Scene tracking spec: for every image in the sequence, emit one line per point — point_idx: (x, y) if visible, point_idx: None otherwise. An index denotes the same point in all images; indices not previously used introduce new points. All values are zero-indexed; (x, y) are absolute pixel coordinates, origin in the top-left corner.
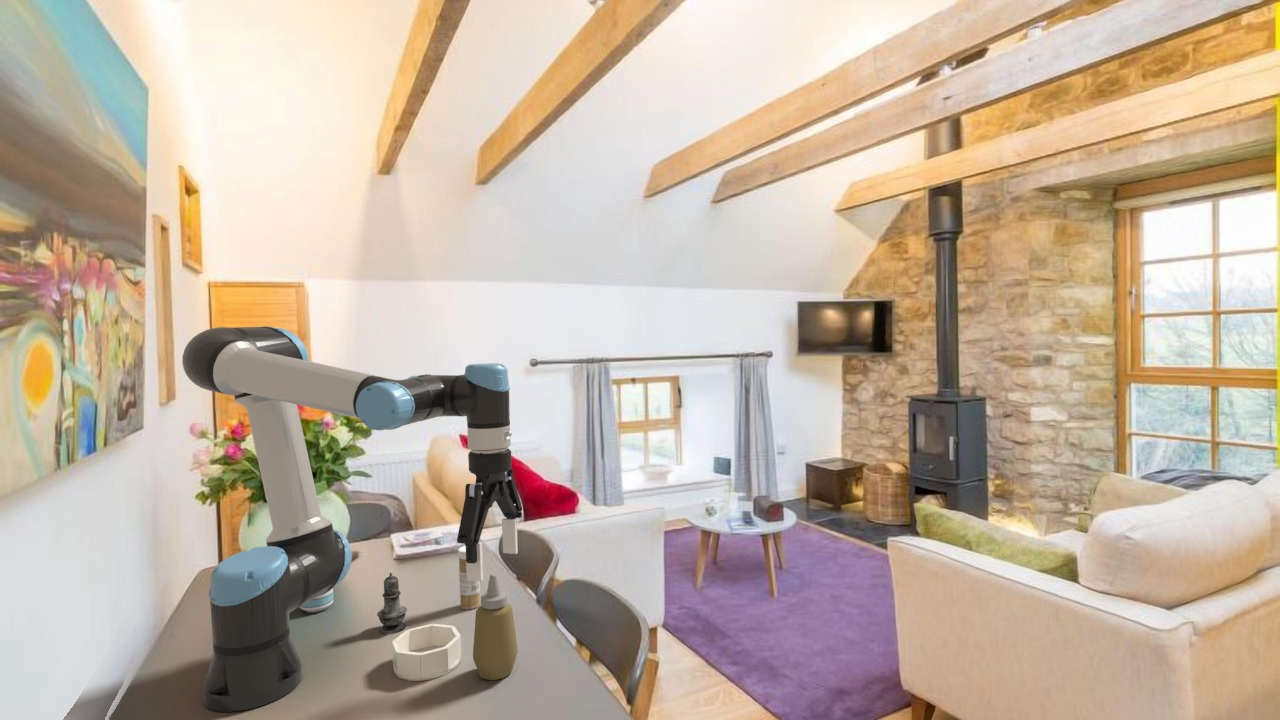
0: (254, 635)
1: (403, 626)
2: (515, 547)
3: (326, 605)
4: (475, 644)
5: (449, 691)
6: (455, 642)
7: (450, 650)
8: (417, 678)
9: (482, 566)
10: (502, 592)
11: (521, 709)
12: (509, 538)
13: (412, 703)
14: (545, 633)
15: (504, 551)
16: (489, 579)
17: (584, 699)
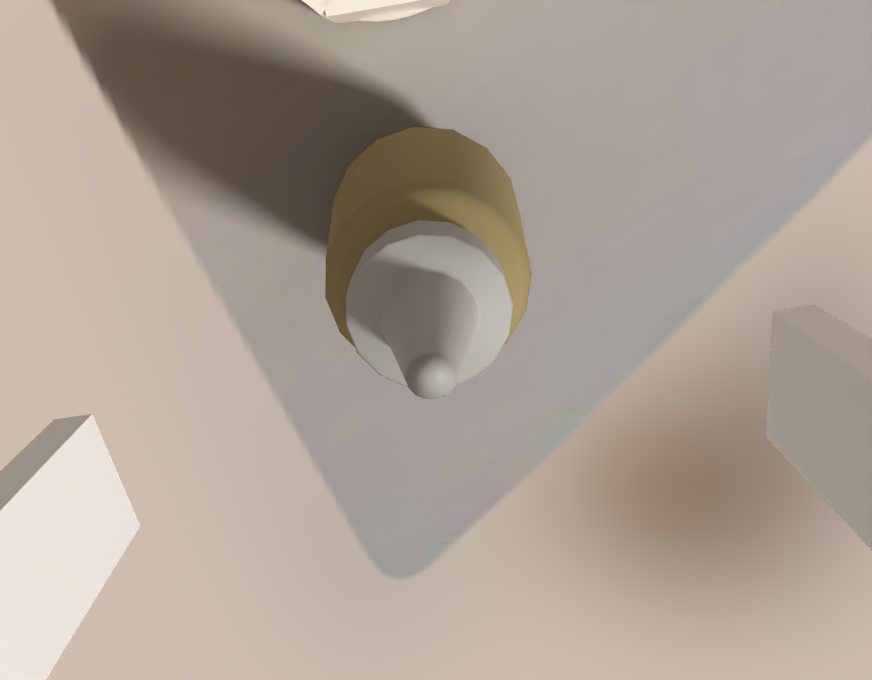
0: None
1: None
2: (800, 469)
3: None
4: (342, 191)
5: (246, 123)
6: (400, 4)
7: (353, 14)
8: None
9: (80, 614)
10: (487, 341)
11: (281, 405)
12: (867, 469)
13: (114, 39)
14: (761, 212)
15: (780, 334)
16: (409, 346)
17: (401, 525)
